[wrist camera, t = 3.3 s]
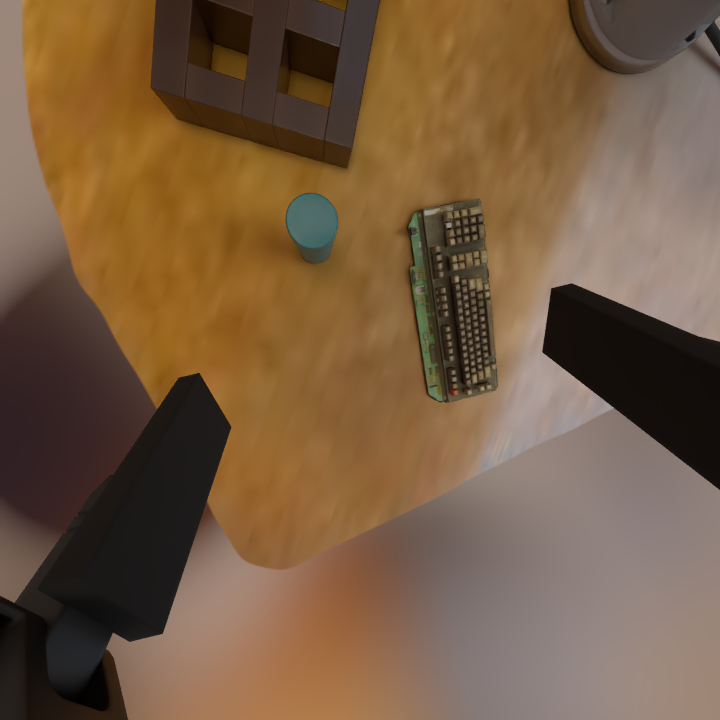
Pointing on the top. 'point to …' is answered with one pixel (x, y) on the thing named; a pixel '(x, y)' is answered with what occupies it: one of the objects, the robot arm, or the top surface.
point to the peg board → (266, 69)
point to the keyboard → (453, 300)
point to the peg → (312, 226)
